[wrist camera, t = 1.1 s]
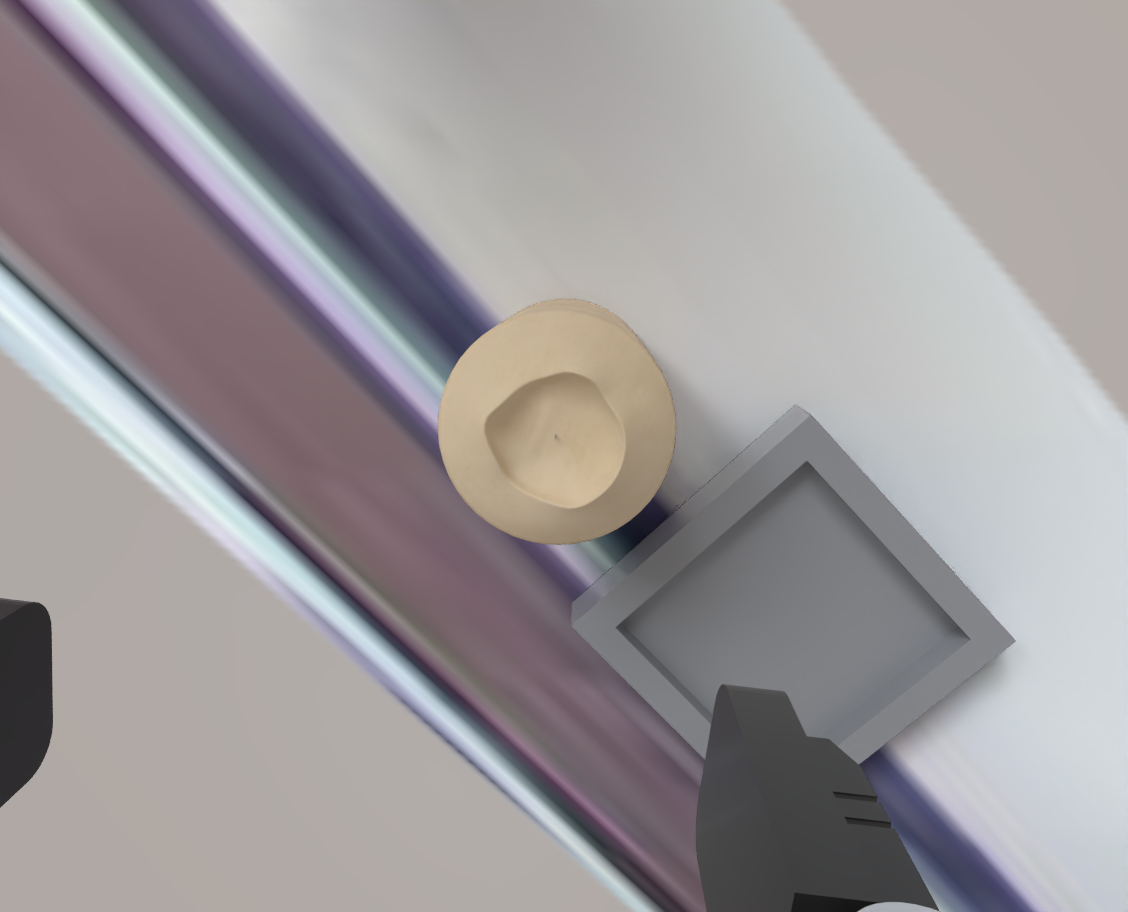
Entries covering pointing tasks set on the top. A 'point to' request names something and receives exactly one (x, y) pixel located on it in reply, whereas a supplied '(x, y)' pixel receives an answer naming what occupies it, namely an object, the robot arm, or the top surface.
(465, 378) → the candle
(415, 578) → the top surface
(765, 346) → the top surface
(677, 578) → the holder
